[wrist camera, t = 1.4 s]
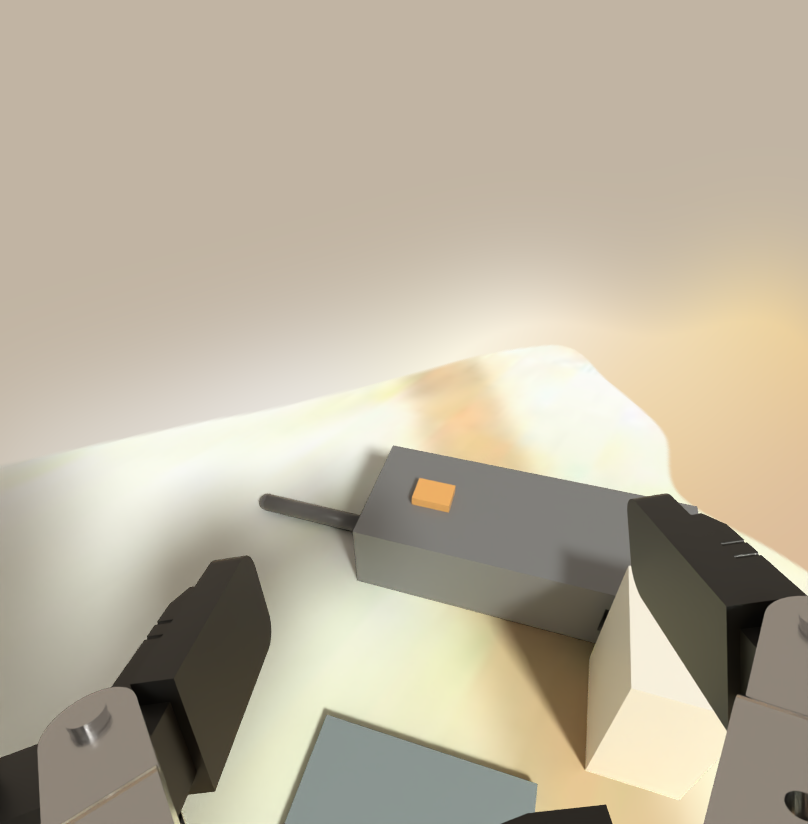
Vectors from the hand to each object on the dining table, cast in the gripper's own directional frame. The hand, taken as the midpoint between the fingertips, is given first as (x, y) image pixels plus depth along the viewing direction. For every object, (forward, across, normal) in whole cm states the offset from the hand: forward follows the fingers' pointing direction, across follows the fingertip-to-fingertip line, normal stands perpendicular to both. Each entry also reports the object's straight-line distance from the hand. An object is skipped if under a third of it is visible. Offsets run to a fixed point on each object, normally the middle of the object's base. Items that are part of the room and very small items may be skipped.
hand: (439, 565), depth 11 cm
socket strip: (+23, 0, +14) cm, 27 cm away
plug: (+15, -8, +19) cm, 25 cm away
